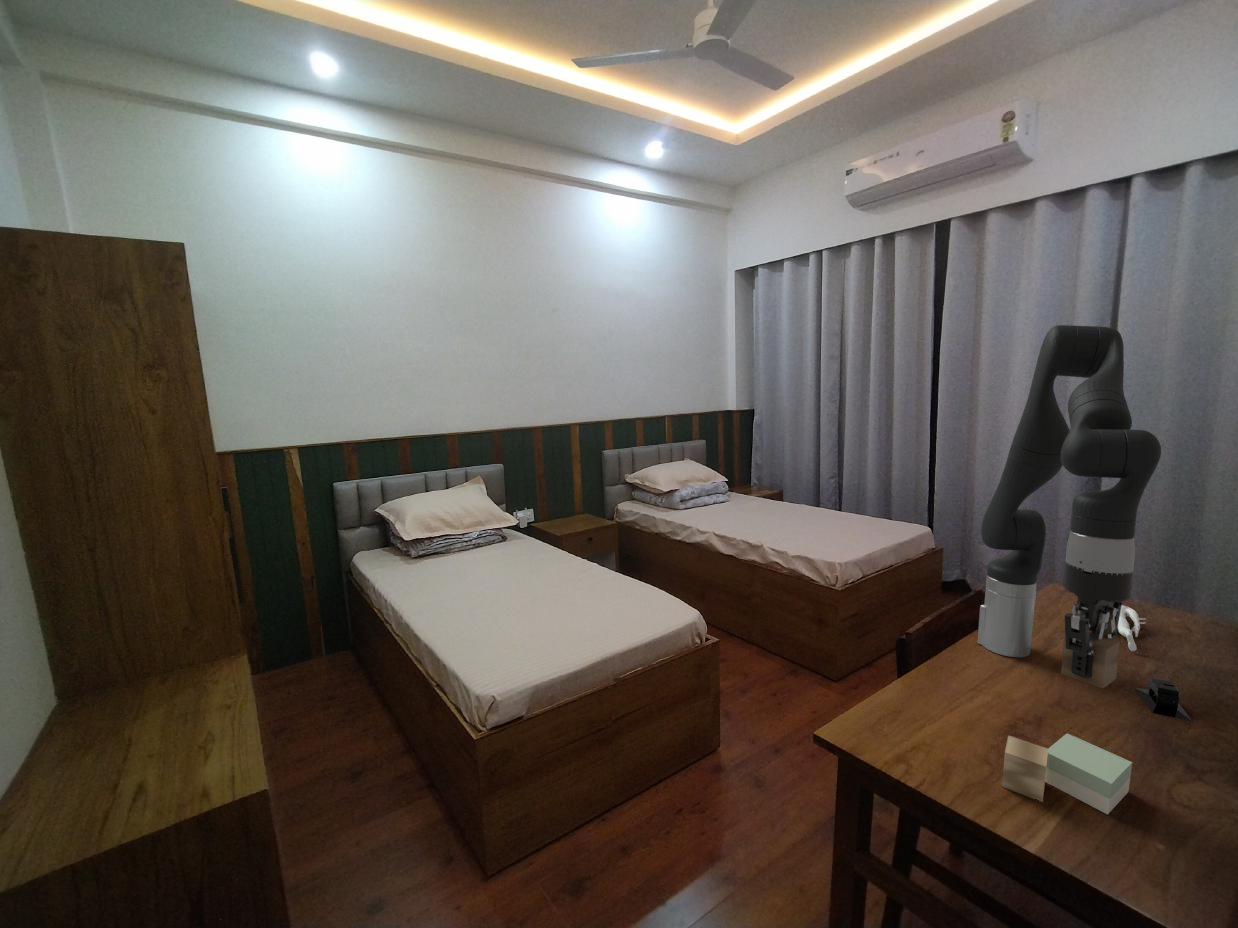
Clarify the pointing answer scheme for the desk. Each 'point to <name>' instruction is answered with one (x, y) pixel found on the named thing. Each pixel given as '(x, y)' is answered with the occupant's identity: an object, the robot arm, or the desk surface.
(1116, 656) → the walnut brick
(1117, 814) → the desk surface
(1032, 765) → the brick
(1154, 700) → the black angular block
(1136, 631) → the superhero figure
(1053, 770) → the brick base
